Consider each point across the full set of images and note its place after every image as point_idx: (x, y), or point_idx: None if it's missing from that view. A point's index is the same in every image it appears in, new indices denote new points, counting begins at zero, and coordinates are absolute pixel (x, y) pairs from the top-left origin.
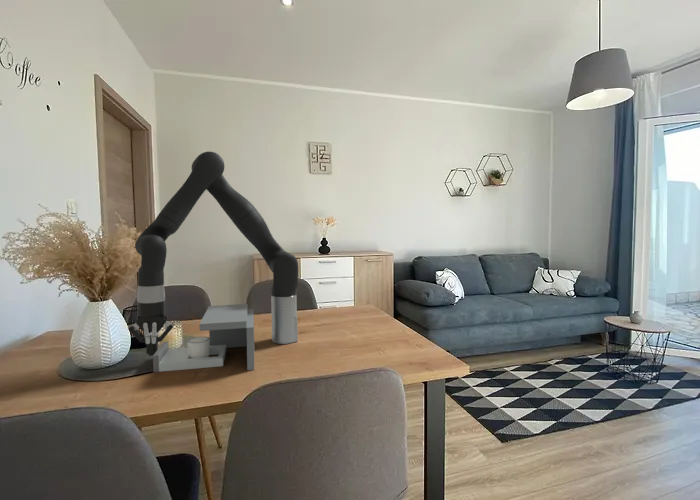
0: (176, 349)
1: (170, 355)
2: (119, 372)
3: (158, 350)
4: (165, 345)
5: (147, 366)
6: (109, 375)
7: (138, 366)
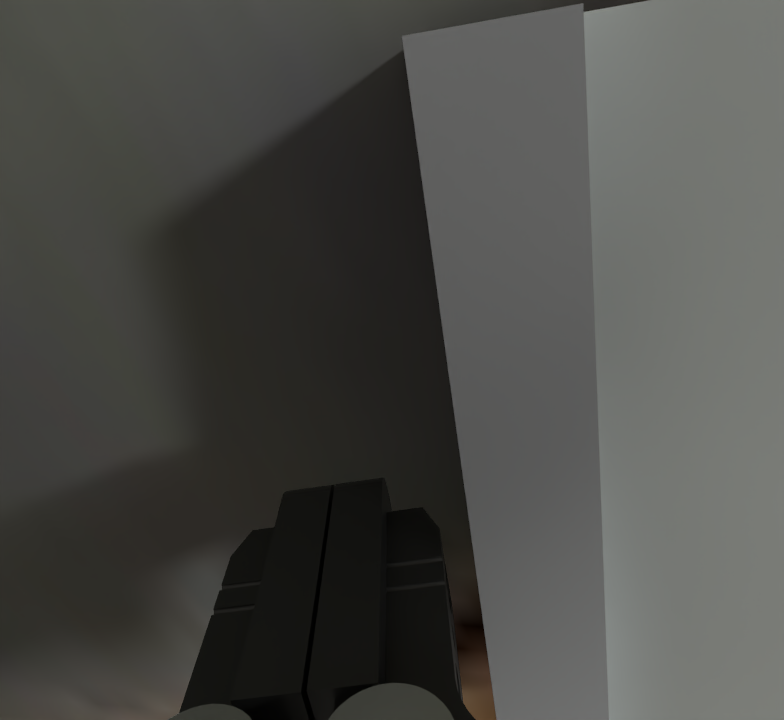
0: (753, 85)
1: (684, 473)
2: (60, 622)
3: (531, 717)
4: (596, 422)
5: (316, 480)
6: (7, 682)
7: (181, 468)
